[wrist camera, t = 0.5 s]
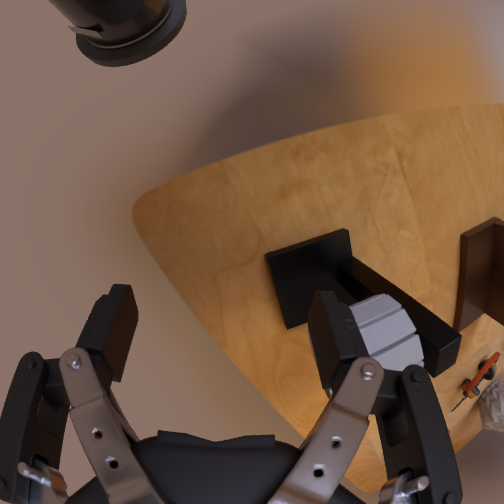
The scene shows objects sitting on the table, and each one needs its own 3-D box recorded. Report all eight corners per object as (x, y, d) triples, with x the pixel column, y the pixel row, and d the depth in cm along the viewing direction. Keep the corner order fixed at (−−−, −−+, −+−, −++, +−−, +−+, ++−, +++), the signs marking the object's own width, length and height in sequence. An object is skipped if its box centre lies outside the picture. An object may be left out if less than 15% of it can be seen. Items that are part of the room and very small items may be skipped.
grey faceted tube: (301, 303, 17) (344, 370, 10) (366, 278, 17) (429, 326, 11) (316, 374, 19) (349, 438, 12) (371, 350, 19) (416, 404, 13)
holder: (264, 253, 25) (334, 367, 10) (345, 227, 25) (469, 294, 10) (284, 324, 27) (343, 448, 13) (355, 297, 28) (447, 390, 13)
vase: (504, 376, 49) (535, 405, 31) (472, 415, 51) (500, 447, 34) (501, 363, 44) (539, 396, 27) (464, 408, 46) (498, 446, 29)
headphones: (455, 419, 42) (463, 407, 31) (445, 406, 46) (449, 390, 36) (499, 372, 41) (516, 344, 30) (488, 361, 45) (501, 330, 35)
